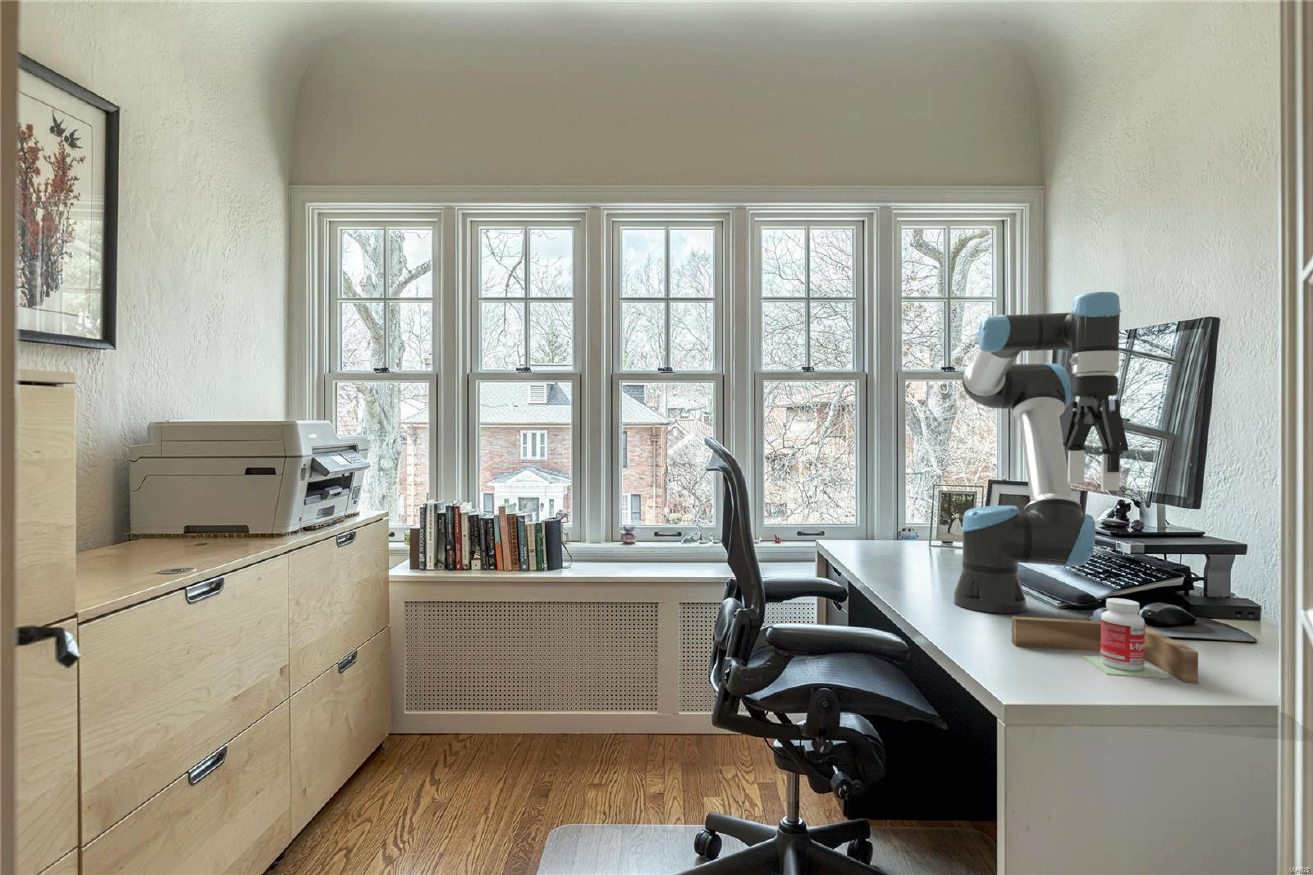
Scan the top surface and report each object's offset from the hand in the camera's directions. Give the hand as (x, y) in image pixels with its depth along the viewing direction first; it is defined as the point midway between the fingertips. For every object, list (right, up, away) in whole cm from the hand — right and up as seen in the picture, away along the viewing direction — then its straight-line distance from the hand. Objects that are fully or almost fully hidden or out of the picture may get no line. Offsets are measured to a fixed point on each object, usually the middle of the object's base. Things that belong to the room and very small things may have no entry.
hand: (1092, 486), depth 126 cm
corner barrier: (-6, -30, -10) cm, 32 cm away
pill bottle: (-4, -30, -13) cm, 33 cm away
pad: (-4, -30, -13) cm, 33 cm away
